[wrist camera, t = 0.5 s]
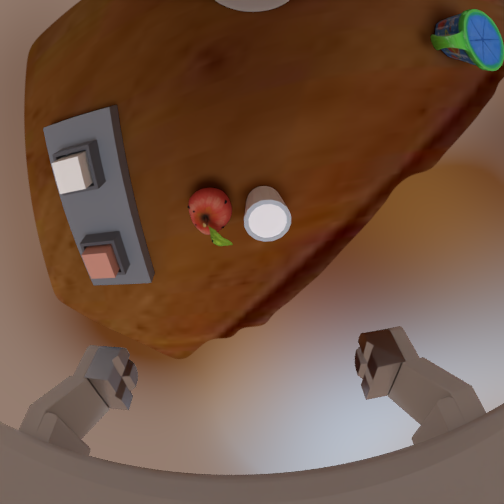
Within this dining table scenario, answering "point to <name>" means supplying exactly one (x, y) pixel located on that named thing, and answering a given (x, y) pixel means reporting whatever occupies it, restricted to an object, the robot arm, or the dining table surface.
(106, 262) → the key brick
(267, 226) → the white short cylinder
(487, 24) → the snack cup
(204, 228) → the apple
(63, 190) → the key ivory
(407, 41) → the dining table surface
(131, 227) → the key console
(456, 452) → the robot arm
